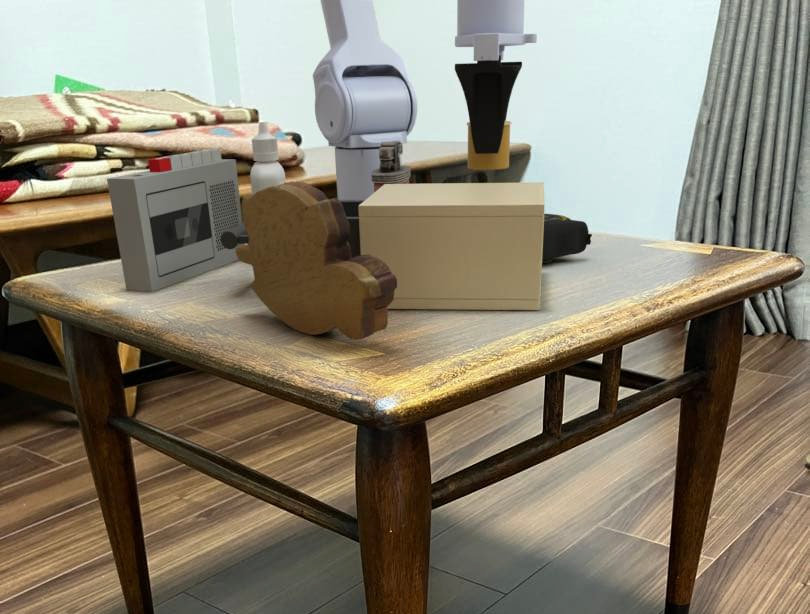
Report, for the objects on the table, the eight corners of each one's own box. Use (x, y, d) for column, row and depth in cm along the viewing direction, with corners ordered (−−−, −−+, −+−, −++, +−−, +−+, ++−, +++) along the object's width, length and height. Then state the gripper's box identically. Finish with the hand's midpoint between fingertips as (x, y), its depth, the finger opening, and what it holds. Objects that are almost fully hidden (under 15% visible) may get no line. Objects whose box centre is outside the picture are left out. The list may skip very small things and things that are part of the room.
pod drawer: (215, 294, 70) (205, 217, 67) (255, 264, 80) (248, 197, 77) (427, 295, 68) (426, 216, 65) (441, 265, 78) (441, 195, 75)
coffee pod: (467, 165, 83) (468, 121, 81) (510, 165, 83) (511, 120, 81) (465, 170, 80) (465, 124, 78) (509, 169, 79) (510, 123, 77)
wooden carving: (420, 345, 59) (417, 186, 54) (370, 360, 56) (362, 195, 52) (272, 306, 70) (259, 170, 65) (224, 318, 67) (206, 177, 62)
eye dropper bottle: (306, 247, 91) (296, 120, 85) (280, 258, 87) (268, 124, 81) (269, 246, 93) (257, 120, 87) (242, 256, 88) (227, 124, 82)
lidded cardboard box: (363, 308, 68) (358, 205, 65) (387, 274, 79) (384, 183, 75) (539, 310, 66) (544, 204, 63) (539, 274, 77) (543, 182, 74)
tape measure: (532, 270, 79) (534, 227, 77) (487, 258, 84) (488, 217, 82) (590, 261, 82) (593, 218, 80) (543, 249, 87) (545, 209, 85)
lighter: (401, 256, 86) (399, 145, 81) (368, 255, 87) (363, 145, 82) (417, 241, 93) (415, 138, 88) (386, 240, 94) (382, 138, 89)
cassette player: (152, 291, 75) (131, 165, 70) (126, 289, 76) (104, 165, 71) (246, 256, 88) (234, 148, 83) (223, 255, 89) (209, 147, 84)
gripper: (540, -35, 67) (532, 158, 73) (538, -21, 80) (531, 143, 86) (448, -31, 68) (448, 159, 74) (461, -18, 80) (460, 144, 87)
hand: (487, 151), depth 80 cm, fingers closed on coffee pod, 4 cm apart
